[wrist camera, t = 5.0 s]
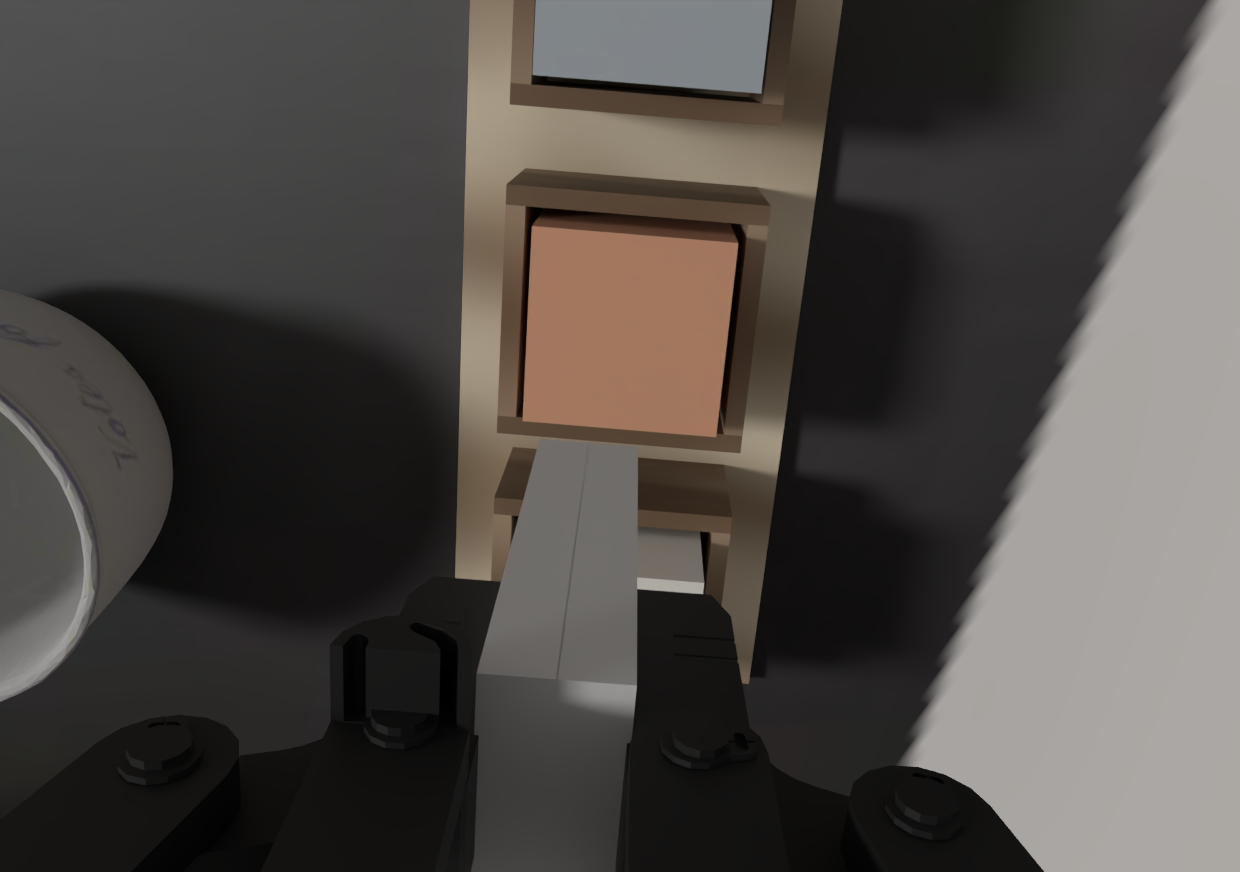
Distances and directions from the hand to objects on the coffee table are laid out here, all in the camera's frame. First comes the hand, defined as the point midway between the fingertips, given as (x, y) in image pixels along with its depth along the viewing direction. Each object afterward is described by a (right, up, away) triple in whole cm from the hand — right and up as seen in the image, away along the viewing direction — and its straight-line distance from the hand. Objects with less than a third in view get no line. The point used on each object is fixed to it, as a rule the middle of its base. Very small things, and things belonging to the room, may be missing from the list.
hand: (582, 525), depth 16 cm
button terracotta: (+1, +5, +14) cm, 15 cm away
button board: (+1, +6, +15) cm, 16 cm away
